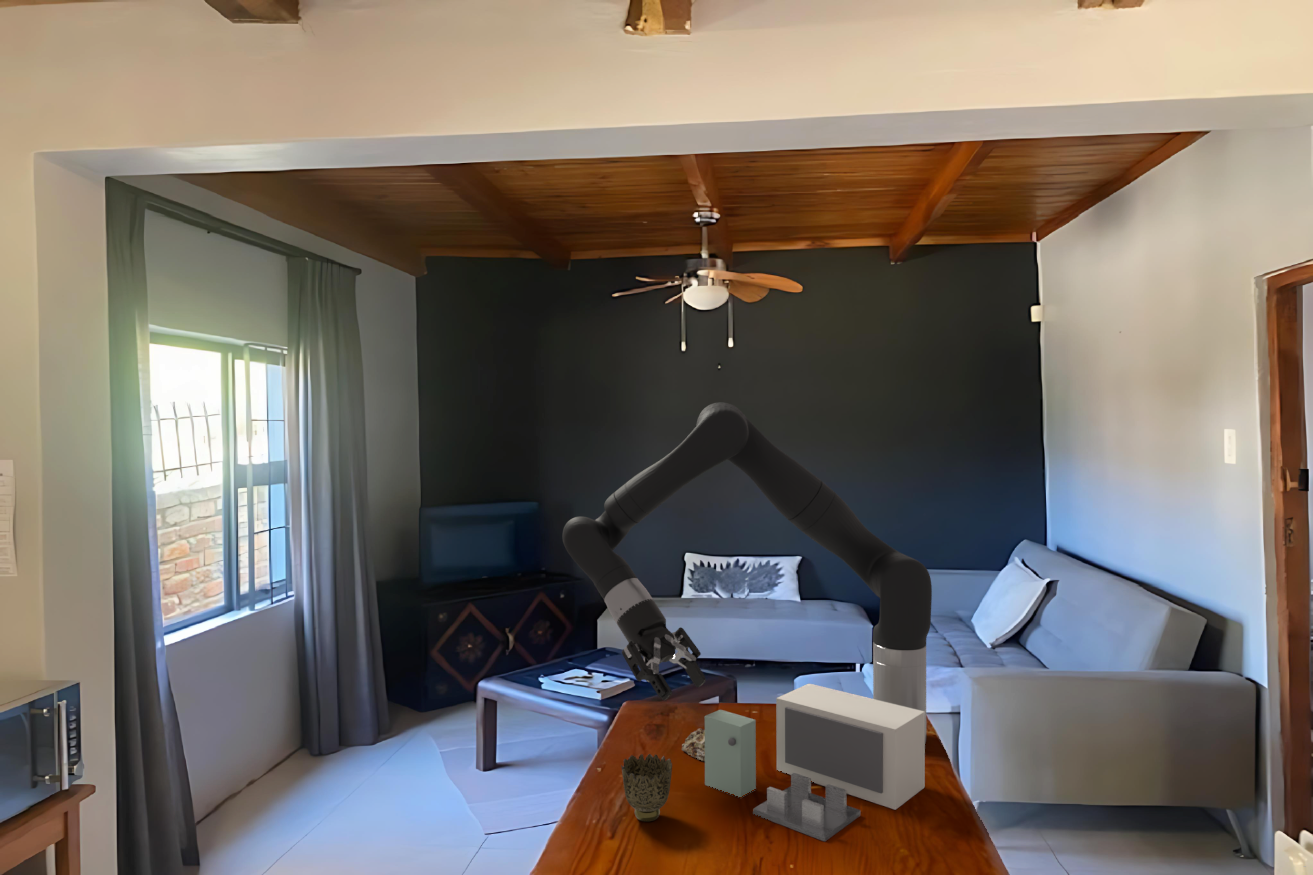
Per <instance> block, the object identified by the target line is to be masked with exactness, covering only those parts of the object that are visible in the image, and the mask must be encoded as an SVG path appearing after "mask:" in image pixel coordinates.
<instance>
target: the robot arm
mask: <svg viewBox="0 0 1313 875" xmlns="http://www.w3.org/2000/svg"><path fill="white" fill-rule="evenodd" d="M727 460H728V461H729V463H731V464H732V465H734V466H736V467H737V468H738V469H740V470H741V472H743V473H744V474H745V475H746V476H748V477H749V478H750V480H751V481H753V483H754V484H755V485H756V487H757V488H758V489H759V490H760V491H761V492H762V494H763V495H764V496H765V498H767V500H768V501H769V502H770V503H771V504H772V505H773V506H774V508H776V510H777V511H778V512H779V513H780V514H781V515H782V516H784V518H785V519H787V520H788V521H789V522H790V523H791V524H793V525H794V526H795V527H796V528H797V529H798V530H799V531H800V532H802V533H803V534H804V535H806V536H807V537H809V538H810V539H812V540H813V542H816V543H817V544H818V545H819V546H821V547H823V548H824V549H825V550H827V551H828V552H830V553H832V554H834V555H835V556H836V557H838V558H839V559H840V560H842V561H843V562H844V563H845V564H846V566H848V567H850V568H851V569H852V571H853V572H854V573H855V574H856V575H857V576H858V577H859V578H860V579H861V580H862V581H863V582H864V584H866V585H867V587H868V588H869V589H870V590H871V591H872V592H873V593H874V595H875V596H876V597H877V598H879V599H880V600H879V601H880V602H879V620H878V623H877V624H876V625H874V627H873V631H872V641H873V642H872V648H873V652H872V655H873V656H872V659H873V660H872V661H873V662H872V663H873V664H872V668H873V672H872V678H873V679H872V680H873V681H872V683H873V684H872V687H873V688H872V689H873V690H872V694H873V695H872V699H875V700H879V701H884V702H888V703H892V704H896V705H900V706H904V707H908V708H912V709H916V710H921V711H925V743H926V742H927V639H928V634H929V633H930V630H931V629H930V628H931V623H932V621H931V620H932V601H933V600H932V599H933V598H932V597H933V596H932V595H933V591H932V590H933V589H932V588H933V586H932V578H931V575H930V572H929V571H928V569H927V567H926V566H925V565H924V564H923V563H922V562H920V561H919V560H917V559H915V558H913V557H910V556H909V555H906V554H905V553H902V552H900V551H898V550H896V549H895V548H894V547H892V546H890V545H889V544H887V543H886V542H885V541H883V540H881V539H880V538H879V537H877V536H876V535H875V534H873V532H871V531H870V530H869V529H868V528H867V527H866V526H865V525H864V524H863V523H862V522H861V520H860V519H859V518H858V516H857V515H856V514H855V512H854V511H853V510H852V509H851V507H850V506H849V505H848V504H847V502H845V501H844V500H843V499H842V498H841V496H840V495H838V494H837V493H836V492H835V491H834V490H833V489H832V488H831V487H829V486H828V485H827V484H826V483H825V482H824V481H822V480H821V479H820V478H819V477H817V476H816V475H815V474H814V473H812V472H811V471H810V470H808V468H806V467H804V466H803V465H802V464H800V462H798V461H797V460H796V459H793V458H792V457H791V456H789V455H788V454H787V453H785V452H784V451H782V450H781V449H780V448H778V447H777V446H775V445H774V444H773V443H772V442H771V441H770V440H769V439H768V438H767V437H766V436H765V435H763V433H762V432H761V431H760V430H759V429H758V428H757V427H756V426H755V425H754V423H752V422H751V420H749V418H748V417H747V416H746V415H745V414H744V412H742V411H741V409H740V408H738V407H737V406H735V404H731V403H728V402H714V403H711V404H709V405H707V406H706V407H704V408H703V409H702V410H701V412H700V413H699V415H698V417H697V421H696V424H695V427H694V428H693V430H691V432H690V433H689V434H688V435H687V437H685V439H684V440H682V442H681V443H679V445H678V446H676V447H675V448H674V449H673V450H672V451H671V452H670V453H668V454H666V455H665V456H664V457H663V458H661V459H660V460H658V461H656V462H655V463H653V464H651V465H650V466H649V467H647V468H645V469H644V470H642V471H640V472H638V473H637V474H636V475H634V476H633V477H632V478H631V479H629V480H628V481H626V482H625V483H624V484H622V486H620V487H619V488H618V489H617V490H616V491H614V492H613V493H612V494H611V495H609V496H608V498H607V499H606V500H605V502H604V506H603V507H604V511H603V512H602V514H601V515H600V516H598V518H596V519H593V518H590V517H587V516H575V517H573V518H571V519H569V520H568V521H567V522H566V523H565V525H564V527H563V530H562V535H561V536H562V542H563V545H564V547H565V550H566V551H567V553H568V555H569V556H570V557H571V559H572V560H573V561H574V563H576V564H577V566H578V567H579V568H580V569H581V570H582V571H583V572H584V574H586V576H587V577H588V578H589V579H590V580H591V581H592V582H593V584H594V587H595V588H596V589H597V592H598V593H599V595H600V596H601V598H602V599H603V601H604V603H605V605H606V607H607V609H608V612H609V614H610V615H611V617H612V618H613V620H614V621H615V623H616V624H617V626H618V628H619V629H620V632H621V633H622V634H623V636H624V638H625V639H626V641H627V642H628V644H627V645H626V646H625V647H624V648H623V649H622V650H621V654H622V657H623V658H624V660H625V661H626V663H627V666H628V667H629V669H630V671H631V672H632V675H633V676H634V678H635V680H636V681H638V682H641V681H646V682H648V683H650V685H651V686H652V688H653V690H654V691H655V693H656V695H657V696H658V697H659V698H661V700H662V701H666V700H668V699H669V698H671V696H672V695H673V691H672V688H671V687H670V686H669V684H668V683H667V681H666V679H665V678H664V676H663V674H662V673H660V666H659V665H660V664H661V663H666V662H667V663H668V662H670V663H672V664H678V665H679V666H681V668H684V669H685V672H686V674H687V676H688V677H689V678H690V680H691V681H692V684H694V686H695V688H700V687H702V686H703V685H704V683H706V682H707V680H706V676H705V674H704V672H703V671H702V669H701V667H700V666H699V665H698V664H697V660H698V658H699V657H700V656H701V655H702V653H701V652H700V650H699V648H698V647H697V646H696V644H695V643H694V641H693V640H692V639H691V637H690V636H689V634H688V633H687V632H686V630H685V629H684V628H683V627H679V628H678V629H677V630H675V631H674V632H671V631H670V630H669V629H668V628H667V619H666V617H665V616H664V614H663V613H662V611H661V609H660V607H659V606H658V604H656V602H655V600H654V599H653V597H652V595H651V594H650V592H649V591H648V590H647V588H646V587H645V586H644V585H643V584H642V582H641V581H640V580H639V578H638V576H636V574H635V573H634V571H633V569H632V568H631V566H630V564H629V563H628V562H627V560H625V559H624V557H622V556H620V555H619V554H617V553H616V552H614V550H615V549H616V547H618V546H619V545H620V543H621V542H622V541H623V539H624V538H626V536H627V535H628V534H629V532H630V530H631V529H632V528H633V527H634V526H636V525H638V524H639V523H640V522H641V521H643V520H644V519H645V518H646V517H647V516H649V515H650V514H651V513H653V512H654V511H655V510H656V509H658V508H659V507H660V506H661V505H662V504H664V503H665V502H666V501H667V500H669V499H670V498H671V497H672V496H673V495H674V494H676V493H677V492H678V491H680V489H682V488H683V487H684V486H686V485H687V484H689V483H691V482H692V481H694V480H695V479H696V478H698V477H699V476H701V475H702V474H704V473H706V472H707V471H709V470H710V469H712V468H714V467H717V465H720V464H721V463H723V462H725V461H727ZM676 651H677V652H676ZM690 651H691V652H690ZM682 657H683V658H682Z"/></svg>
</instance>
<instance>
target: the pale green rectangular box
mask: <svg viewBox="0 0 1313 875" xmlns="http://www.w3.org/2000/svg"><path fill="white" fill-rule="evenodd" d="M756 722H757V720H756V719H755V718H754V719H753V718H750V717H747V716H744V715H740V714H737V713H734V712H730V711H727V710H723V709H718V710H716V711H714V712H711V713H709V714H706V715H705V716H704V730H705V761H704V785H705V786H707V787H709V786H710V787H709V788H712V787H713V788H712V789H715V788H716V789H715V790H717V789H718V791H720V790H722V791H721V792H723V791H724V792H723V793H725V792H728V793H730V794H729V795H731V794H734V795H735V796H734V797H736V796H738V797H737V798H739V797H742V796H743V795H745V794H747V793H749V792H750V793H752V792H753V791H752V790H754V789H756V790H757V787H756V786H757V780H756V779H757V775H756V774H757V770H756V769H757V768H756V766H757V765H756V764H757V763H756V762H757V761H756V760H757V759H756V758H757V756H756V755H757V754H756V752H757V747H756V745H757V744H756V743H757V740H756V739H757V738H756V735H757V734H756V732H757V731H756V728H757V727H756ZM751 791H752V792H751ZM754 791H755V790H754ZM728 793H727V794H728ZM750 793H749V794H750ZM747 795H748V794H747ZM745 796H746V795H745ZM743 797H744V796H743ZM743 797H742V798H743Z"/></svg>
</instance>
